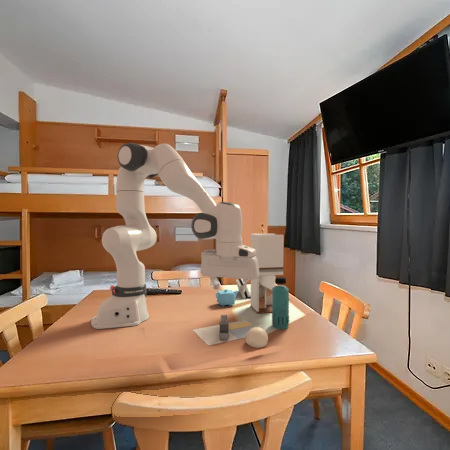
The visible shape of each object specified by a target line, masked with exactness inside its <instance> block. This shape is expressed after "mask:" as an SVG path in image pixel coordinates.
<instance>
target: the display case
mask: <svg viewBox="0 0 450 450" xmlns="http://www.w3.org/2000/svg"><path fill="white" fill-rule="evenodd" d="M284 237H285V236H284V234H276V233H251V234H250V248H253V249H255V250H256V254H255V255H254V256H255V257H256V258H257V259H258V264H259V277H258V278H257V279H255V280H252V279H250V293H251V296H250V308H251V309H252V310H253V311H255V313H256V314H257V315H259V314H260V315H263V314H272V288H273V287H275V286H277V283H275V278H276V277H277V276H283V275H284V245H285V243H284V242H285V240H284Z"/></svg>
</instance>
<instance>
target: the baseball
mask: <svg viewBox="0 0 450 450" xmlns="http://www.w3.org/2000/svg"><path fill="white" fill-rule="evenodd" d="M245 341H246V343H245V344H247V346H250V347H253V348H257V349H258V348H260V349H262V348H264V347H266V346H267V344H268V343H269V342H268V341H269V336H268V333H267V332H266V330H265V329H264V328H262V327H260V326H254V327H253V328H251V329H250V330H249V331H248V333H247V334H246V338H245Z"/></svg>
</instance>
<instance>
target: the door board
mask: <svg viewBox="0 0 450 450" xmlns="http://www.w3.org/2000/svg"><path fill="white" fill-rule="evenodd" d="M220 321H228V315H227V314H222V315H220ZM253 327H255V326H254V325H253V324H252V323H250V322H248V321H246V320H245V319H243V320H238V321H231V322H229V339H228V340H220V324H215V325H211V326H204V327H199V328H194V329H192V332H194V333H195V334H196V335H197V336H198V337H199V339H200V340H202V341H203V342H204V343H205V344H206V345H207V346H213V345H218V344H223V343H226V342H227V343H228V342H231V341H237V340H240V339H246V334H247V333H248V331H249V330H250V329H251V328H253Z"/></svg>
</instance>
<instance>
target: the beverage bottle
mask: <svg viewBox="0 0 450 450" xmlns="http://www.w3.org/2000/svg"><path fill="white" fill-rule="evenodd" d="M275 277H276V278H275V283H276V286H275V287H273V288H272V313H271V326H272V328H274V329H277V330H286V329H288V328H289V326H290V325H289V324H290V316H289V314H290V294H289V293H290V292H289V291H290V290H289V288H288V287H287V286H286V284H287V278H286V277H284V276H275Z"/></svg>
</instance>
